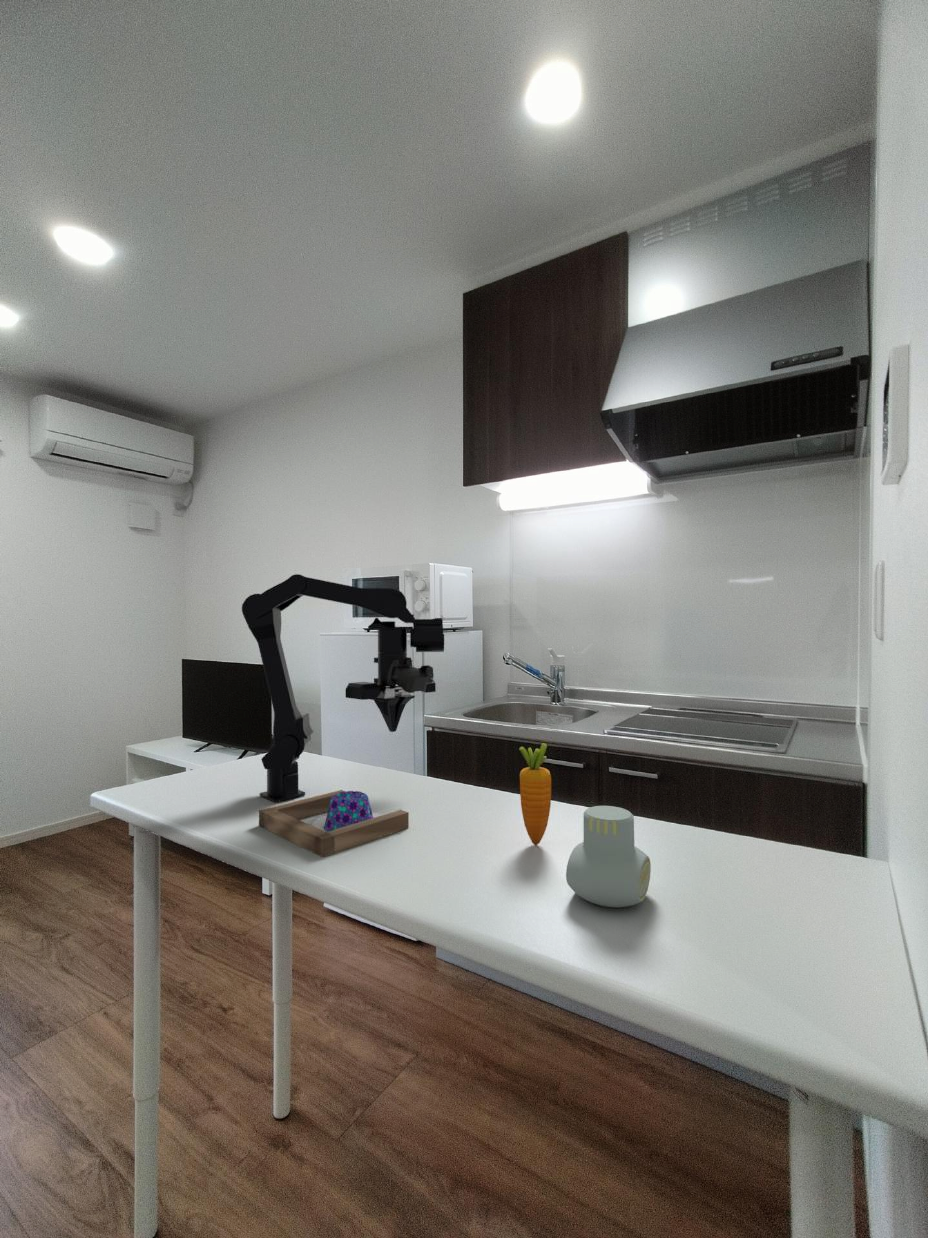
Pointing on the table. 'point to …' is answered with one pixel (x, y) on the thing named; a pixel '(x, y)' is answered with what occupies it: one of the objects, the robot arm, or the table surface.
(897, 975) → the table surface
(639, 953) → the table surface
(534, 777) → the carrot
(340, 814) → the pudding
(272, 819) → the holder
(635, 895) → the air freshener
